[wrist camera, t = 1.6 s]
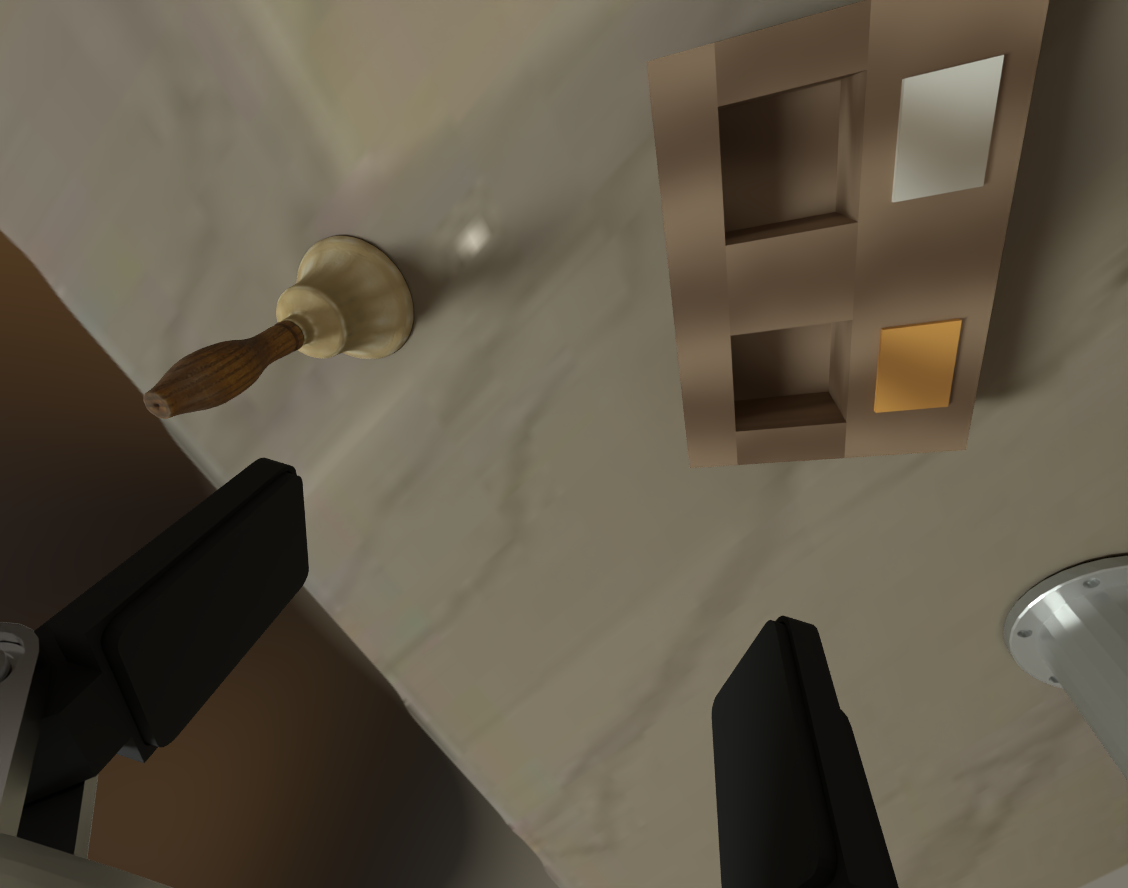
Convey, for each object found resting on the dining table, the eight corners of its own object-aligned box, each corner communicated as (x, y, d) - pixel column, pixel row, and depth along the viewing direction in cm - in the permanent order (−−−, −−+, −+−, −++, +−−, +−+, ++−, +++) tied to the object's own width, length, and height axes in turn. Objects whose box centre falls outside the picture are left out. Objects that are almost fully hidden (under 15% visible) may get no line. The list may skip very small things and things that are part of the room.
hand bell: (437, 305, 34) (276, 413, 20) (372, 379, 38) (201, 511, 24) (338, 205, 32) (85, 253, 18) (280, 295, 36) (38, 387, 22)
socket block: (652, 74, 25) (646, 60, 21) (986, -17, 22) (1064, -58, 17) (689, 428, 35) (689, 470, 30) (927, 407, 31) (968, 453, 26)
